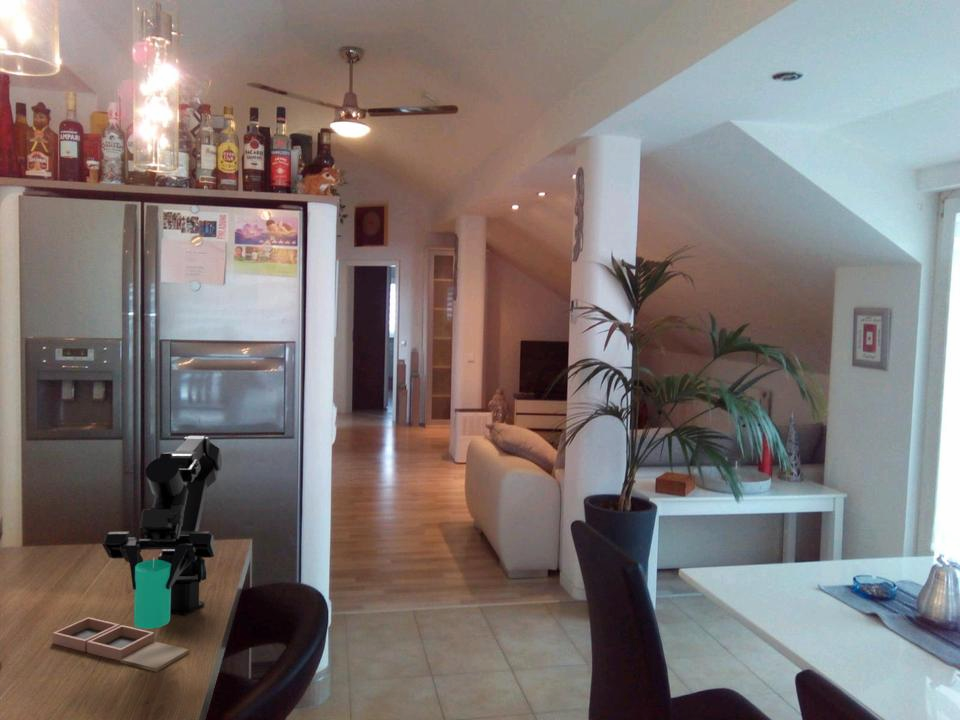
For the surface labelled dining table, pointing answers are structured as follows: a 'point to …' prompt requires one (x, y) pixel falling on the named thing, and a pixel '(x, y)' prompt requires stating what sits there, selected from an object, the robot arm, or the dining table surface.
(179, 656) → the pad
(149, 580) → the candle
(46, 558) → the dining table surface
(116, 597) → the dining table surface
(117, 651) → the tray
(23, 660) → the dining table surface
